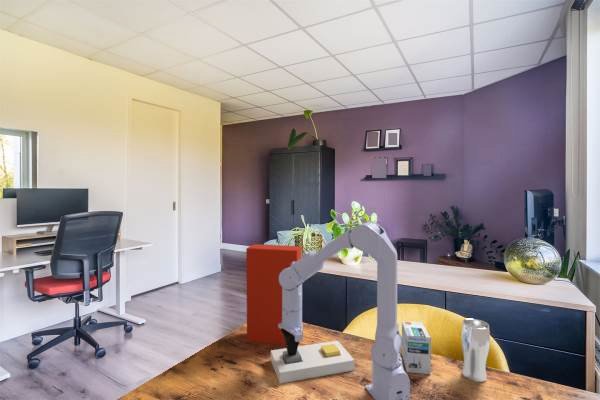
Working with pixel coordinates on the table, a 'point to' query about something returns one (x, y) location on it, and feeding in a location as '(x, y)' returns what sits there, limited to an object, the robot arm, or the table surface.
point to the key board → (311, 363)
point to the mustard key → (330, 350)
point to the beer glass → (475, 349)
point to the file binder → (266, 290)
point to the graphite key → (291, 358)
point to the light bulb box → (416, 347)
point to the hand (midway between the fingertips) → (291, 354)
